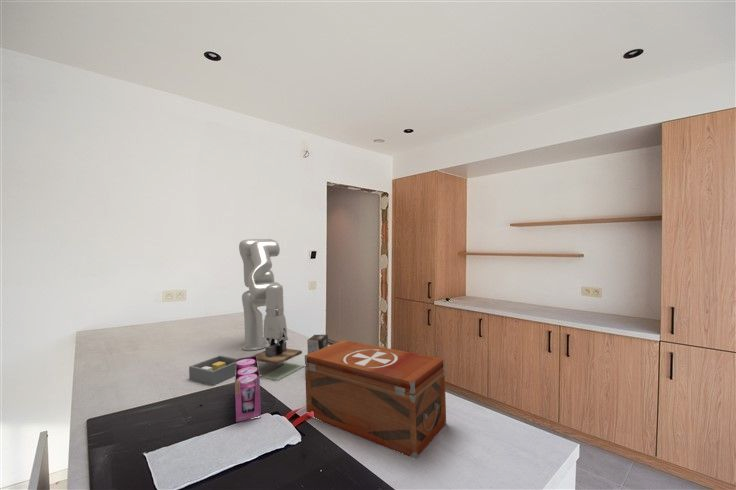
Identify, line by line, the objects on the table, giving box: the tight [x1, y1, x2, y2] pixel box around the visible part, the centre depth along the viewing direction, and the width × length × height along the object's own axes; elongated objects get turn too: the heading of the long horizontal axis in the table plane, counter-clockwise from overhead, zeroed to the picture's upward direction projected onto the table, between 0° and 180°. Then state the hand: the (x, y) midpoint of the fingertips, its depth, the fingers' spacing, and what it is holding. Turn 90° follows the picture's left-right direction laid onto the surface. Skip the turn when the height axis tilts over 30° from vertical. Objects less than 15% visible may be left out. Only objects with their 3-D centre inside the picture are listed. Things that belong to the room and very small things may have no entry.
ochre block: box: [212, 361, 226, 371], centre depth 148 cm, size 4×4×4 cm
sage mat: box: [260, 361, 305, 382], centre depth 150 cm, size 17×17×1 cm
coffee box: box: [306, 334, 329, 354], centre depth 145 cm, size 9×6×16 cm
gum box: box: [234, 355, 262, 423], centre depth 118 cm, size 24×8×14 cm, turn 21°
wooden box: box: [304, 339, 447, 460], centre depth 107 cm, size 20×41×20 cm, turn 54°
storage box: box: [188, 355, 237, 387], centre depth 144 cm, size 15×15×6 cm
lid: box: [249, 341, 303, 366], centre depth 150 cm, size 16×16×6 cm
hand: (276, 352), depth 150 cm, fingers closed on lid, 3 cm apart
